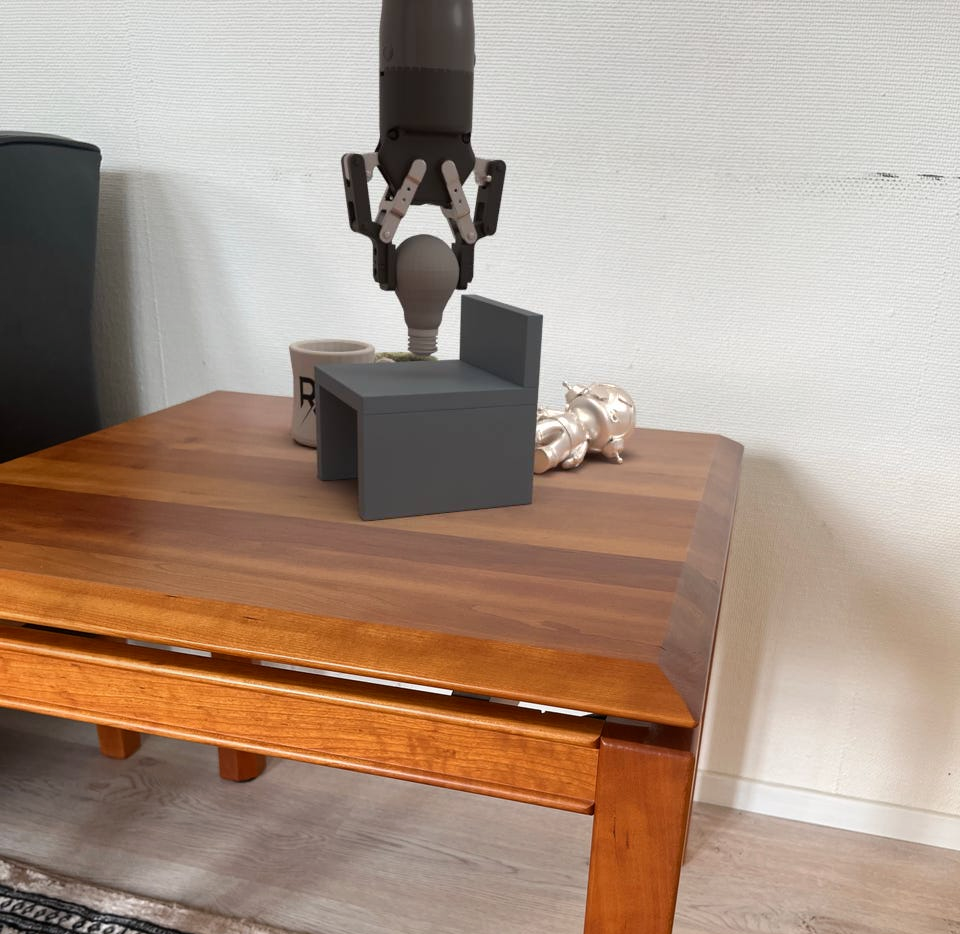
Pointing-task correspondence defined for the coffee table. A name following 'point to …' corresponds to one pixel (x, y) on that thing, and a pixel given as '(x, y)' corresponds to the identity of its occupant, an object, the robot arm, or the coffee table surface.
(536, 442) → the figurine
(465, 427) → the grey toy chair
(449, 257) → the light bulb
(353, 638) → the coffee table surface
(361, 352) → the mug
